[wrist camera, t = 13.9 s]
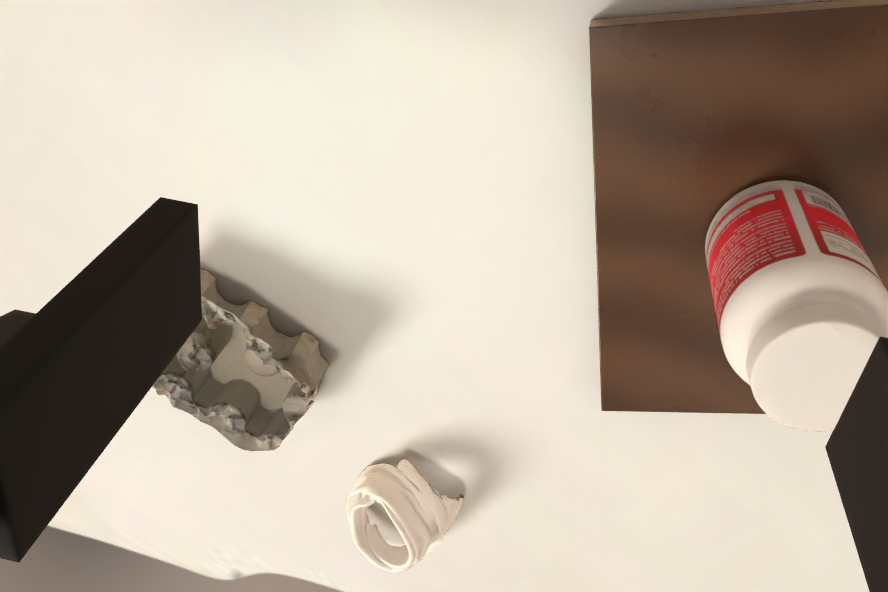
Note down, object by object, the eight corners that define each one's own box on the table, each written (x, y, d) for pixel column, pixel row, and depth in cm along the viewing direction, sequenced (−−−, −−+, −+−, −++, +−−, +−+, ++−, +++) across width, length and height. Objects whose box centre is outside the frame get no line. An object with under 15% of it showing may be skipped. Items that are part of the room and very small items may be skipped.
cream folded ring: (427, 547, 56) (415, 612, 52) (333, 510, 55) (314, 574, 51) (478, 477, 52) (470, 543, 48) (377, 435, 51) (360, 499, 47)
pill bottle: (696, 293, 41) (717, 441, 31) (711, 173, 38) (739, 297, 28) (834, 301, 40) (898, 456, 30) (861, 178, 37) (942, 308, 27)
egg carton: (346, 353, 48) (325, 396, 45) (285, 430, 52) (261, 475, 49) (185, 246, 47) (149, 282, 43) (134, 333, 50) (98, 373, 47)
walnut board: (590, 19, 37) (589, 27, 36) (1003, -14, 33) (1018, -6, 32) (602, 394, 46) (601, 411, 45) (923, 399, 43) (932, 417, 42)
